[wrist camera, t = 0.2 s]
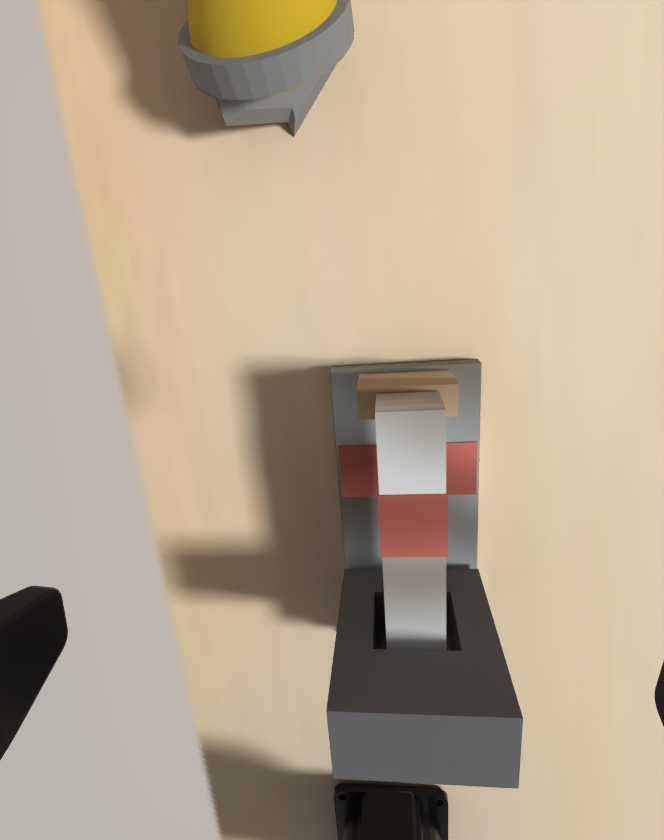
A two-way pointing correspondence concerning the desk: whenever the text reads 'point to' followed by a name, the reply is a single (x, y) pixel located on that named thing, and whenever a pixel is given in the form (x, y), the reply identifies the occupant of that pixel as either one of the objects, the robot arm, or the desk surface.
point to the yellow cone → (265, 54)
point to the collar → (422, 694)
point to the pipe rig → (409, 484)
